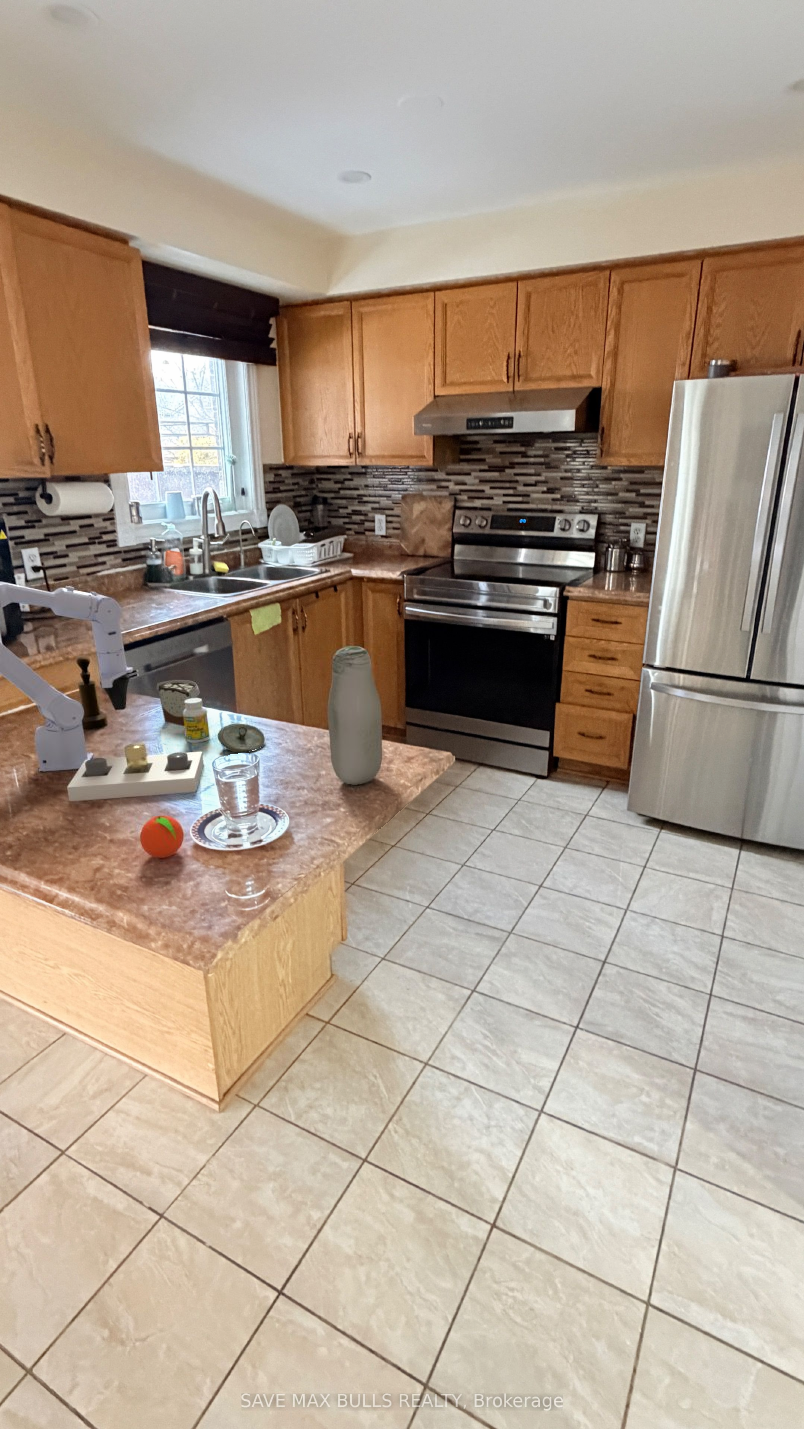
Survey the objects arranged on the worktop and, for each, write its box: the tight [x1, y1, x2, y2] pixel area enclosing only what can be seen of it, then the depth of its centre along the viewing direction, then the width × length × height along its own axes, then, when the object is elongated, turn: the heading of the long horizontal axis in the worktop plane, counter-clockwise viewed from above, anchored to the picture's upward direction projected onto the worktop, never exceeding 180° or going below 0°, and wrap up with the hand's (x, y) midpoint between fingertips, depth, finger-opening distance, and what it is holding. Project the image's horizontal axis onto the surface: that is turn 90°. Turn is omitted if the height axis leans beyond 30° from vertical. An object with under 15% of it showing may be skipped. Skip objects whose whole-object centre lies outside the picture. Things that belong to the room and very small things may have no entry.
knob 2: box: [167, 751, 189, 771], centre depth 154 cm, size 4×4×5 cm
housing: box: [66, 751, 205, 802], centre depth 154 cm, size 24×14×3 cm, turn 98°
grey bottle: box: [327, 645, 383, 786], centre depth 147 cm, size 10×10×28 cm
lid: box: [217, 723, 266, 753], centre depth 171 cm, size 11×10×5 cm
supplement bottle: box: [183, 697, 211, 744], centre depth 175 cm, size 5×5×10 cm
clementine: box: [139, 814, 185, 859], centre depth 124 cm, size 8×7×7 cm
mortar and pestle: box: [76, 654, 108, 731], centre depth 184 cm, size 7×6×18 cm
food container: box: [156, 679, 200, 728], centre depth 187 cm, size 12×6×10 cm, turn 58°
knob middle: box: [124, 742, 148, 773], centre depth 152 cm, size 4×4×5 cm
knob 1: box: [85, 757, 108, 777], centre depth 152 cm, size 4×4×5 cm
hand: (120, 708), depth 169 cm, fingers closed
